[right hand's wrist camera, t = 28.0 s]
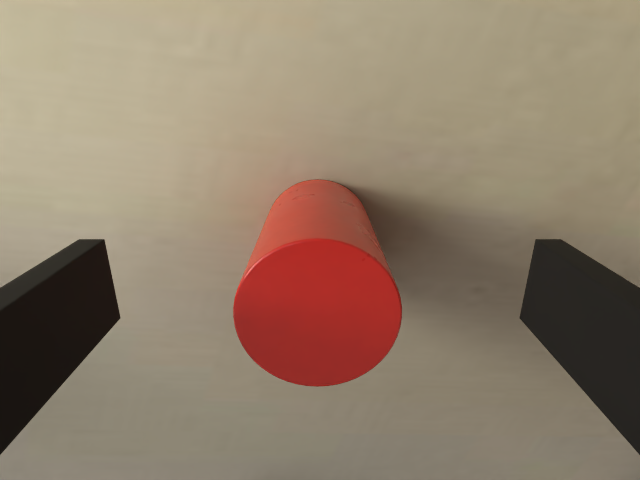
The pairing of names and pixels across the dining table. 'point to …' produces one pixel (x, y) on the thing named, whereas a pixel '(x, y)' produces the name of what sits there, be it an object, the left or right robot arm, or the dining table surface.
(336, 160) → the dining table surface
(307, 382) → the red cylinder
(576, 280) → the right robot arm
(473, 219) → the dining table surface
